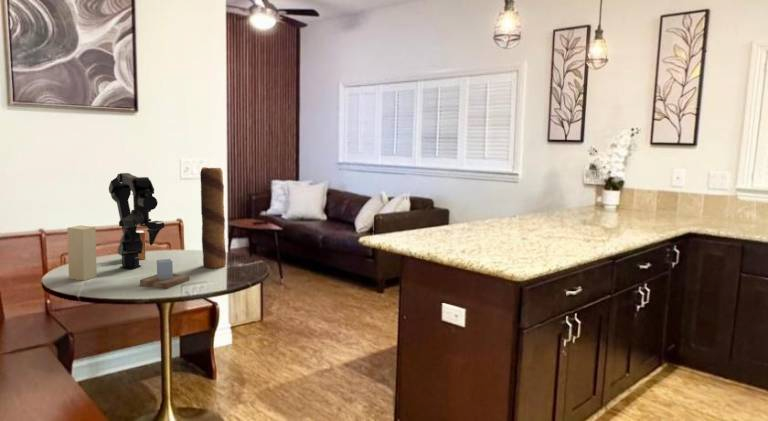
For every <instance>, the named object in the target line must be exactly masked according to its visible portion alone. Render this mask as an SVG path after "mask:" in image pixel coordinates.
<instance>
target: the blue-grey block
mask: <svg viewBox="0 0 768 421" xmlns="http://www.w3.org/2000/svg"><path fill="white" fill-rule="evenodd" d="M156 274H157V278H158V279H159V280H164V279H173V274H174V272H173V261H172V260H171V258H164V259H157V260H156Z"/></svg>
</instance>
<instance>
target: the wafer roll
mask: <svg viewBox="0 0 768 421" xmlns="http://www.w3.org/2000/svg"><path fill="white" fill-rule="evenodd" d="M223 175H224V174H223V170H222V168H221V167H201V169H200V175H199V176H200V201H201V202H200V208H201V209H200V210H201V213H200V214H201V222H202V224H201V225H202V226H201V245H202V246H201V248H202V249H201V250H202V264H203V267H204V268H207V269H221V268H223V267H225V266H226V265H227V252H226V241H225V240H226V238H225V228H226V227H225V226H226V224H225V223H226V222H225V221H226V218H225V206H224V205H225V203H224V195H225V191H224V188H225V185H224V178H223Z"/></svg>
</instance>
